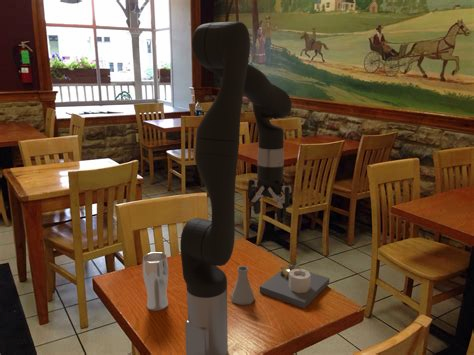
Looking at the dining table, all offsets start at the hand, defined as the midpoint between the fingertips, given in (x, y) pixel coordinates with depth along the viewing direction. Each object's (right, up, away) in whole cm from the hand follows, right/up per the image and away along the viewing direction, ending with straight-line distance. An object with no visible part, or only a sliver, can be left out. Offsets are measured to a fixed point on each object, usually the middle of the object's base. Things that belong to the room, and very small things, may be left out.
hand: (269, 216), depth 121 cm
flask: (-8, -24, -1) cm, 26 cm away
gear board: (+8, -23, +5) cm, 25 cm away
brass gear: (+8, -19, +10) cm, 23 cm away
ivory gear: (+9, -21, +2) cm, 23 cm away
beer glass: (-32, -25, -4) cm, 41 cm away
